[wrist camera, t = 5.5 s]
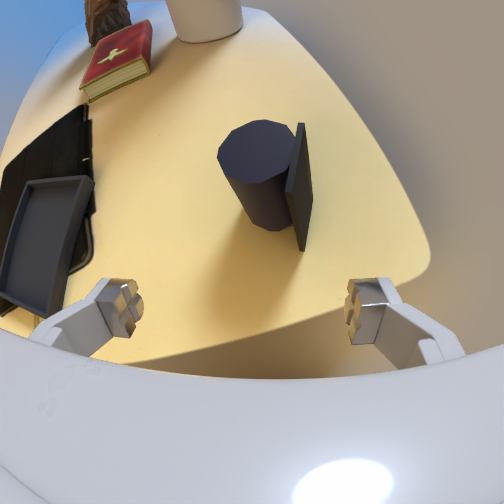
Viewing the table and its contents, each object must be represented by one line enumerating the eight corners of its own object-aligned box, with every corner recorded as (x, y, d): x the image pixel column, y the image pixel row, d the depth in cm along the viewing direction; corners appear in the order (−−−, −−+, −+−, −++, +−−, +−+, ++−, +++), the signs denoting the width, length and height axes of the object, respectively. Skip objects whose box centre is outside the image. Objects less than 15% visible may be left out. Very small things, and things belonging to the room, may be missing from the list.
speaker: (333, 202, 24) (341, 127, 15) (303, 253, 24) (297, 197, 14) (266, 170, 27) (242, 96, 17) (234, 215, 26) (192, 152, 16)
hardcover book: (153, 30, 40) (148, 17, 36) (151, 74, 34) (142, 55, 30) (105, 52, 40) (98, 39, 36) (89, 103, 34) (78, 87, 30)
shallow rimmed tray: (60, 321, 24) (48, 320, 22) (5, 296, 26) (-5, 293, 24) (95, 182, 29) (86, 174, 27) (35, 186, 30) (27, 180, 28)
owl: (117, 23, 47) (94, -25, 27) (151, 15, 44) (129, -40, 25) (89, 47, 44) (60, -3, 24) (122, 39, 41) (92, -21, 22)
